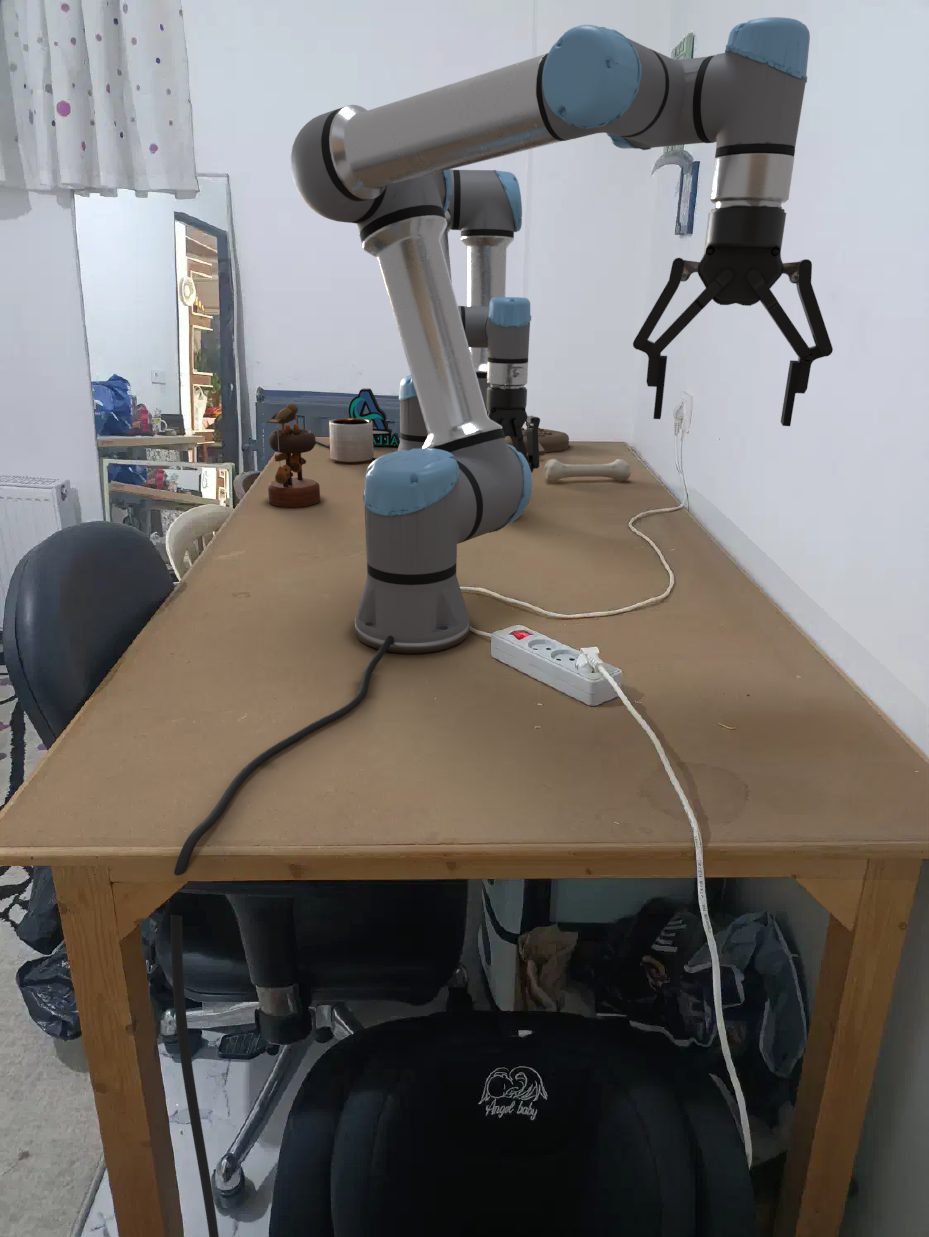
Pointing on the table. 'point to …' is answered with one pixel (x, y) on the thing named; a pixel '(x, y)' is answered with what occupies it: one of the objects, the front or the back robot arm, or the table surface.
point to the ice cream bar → (546, 440)
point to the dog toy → (587, 470)
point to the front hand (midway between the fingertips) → (720, 421)
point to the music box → (291, 462)
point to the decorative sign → (373, 418)
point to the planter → (351, 440)
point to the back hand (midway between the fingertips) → (503, 506)
